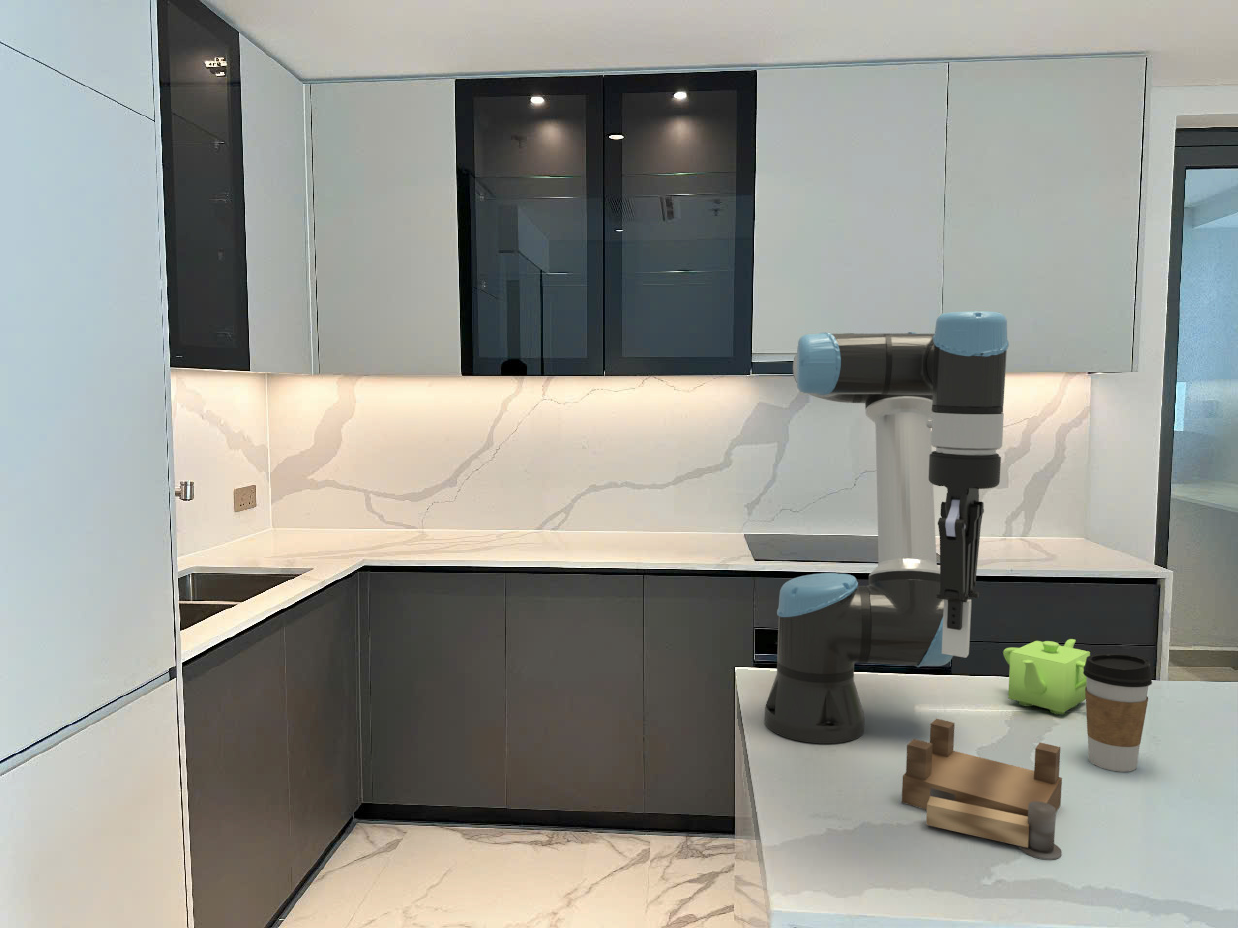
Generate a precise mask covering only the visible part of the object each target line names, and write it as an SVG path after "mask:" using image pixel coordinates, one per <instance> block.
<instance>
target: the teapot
mask: <svg viewBox="0 0 1238 928" xmlns="http://www.w3.org/2000/svg"><path fill="white" fill-rule="evenodd" d="M1076 641H1077V640H1076V639H1073V638H1069V639H1067V640H1066V641H1065V643H1064V645H1061V644H1059V643H1058V642H1055V641H1052V640H1051V641H1050V640H1045V641H1041V640H1035V641H1033V642H1030V643H1027V644H1026V645H1023V646H1021V647H1006V648H1005V649H1004V650H1003V651H1002V653H1003V654H1002V655H1003V657H1004V659H1005V661H1006V663H1007V664H1008V665H1009V673H1008V674H1009V676H1008V677H1009V678H1008V693H1007V695H1008V696H1007V698H1008V699H1009V700H1013V701H1016V702H1018V704H1019V705H1020V706H1024V707H1032V706H1036V707H1039V708H1044V709H1046V710H1049V712H1050V713H1051V712H1052V714H1053V713H1054V715H1058V714H1063V715H1065V712H1067V711H1068V710H1070V709H1072V708H1076V707H1077V705H1078V704H1080V703H1082V702H1084V701H1086V696H1085V688H1086V686H1087V680H1086V676H1085V675H1084V674H1083V671H1084V669H1083V668H1084V666H1085V663H1086V659H1087V657H1088V656H1090V655H1091V652H1090V651H1088V650H1087V651H1086V650H1082V649H1079V648H1074V645H1075V643H1076ZM1055 713H1056V714H1055Z"/></svg>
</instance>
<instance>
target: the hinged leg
mask: <svg viewBox="0 0 1238 928" xmlns="http://www.w3.org/2000/svg"><path fill="white" fill-rule="evenodd" d="M1056 814H1057V812H1056V809H1055V807H1053V806H1052V805H1050V804H1047V803H1044V802H1037V801H1035V802H1030V803H1029V805H1028V817H1027V816H1023V815H1018V814H1013V813H1008V812H1004V811H999V810H994V809H989V808H985V807H980V806H975V805H970V804H966V803H961V802H956V801H951V800H947V799H942V798H937V797H932V796H930V798H929V801H928V803H927V810H926V824H925V826H931V827H933V828H938V829H944V830H947V831H953V832H955V833H956V832H957V833H961V834H965V835H970V836H975V837H978V838H979V837H980V838H982V839H989V840H992V841H997V842H1001V843H1006V844H1010V845H1014V846H1018V847H1019V846H1023V847H1027V848H1028V846H1029V847H1031V848H1033V849H1035V850H1038V851H1043V852H1050V851H1052V850H1053V849H1054V844H1055V834H1056V833H1055V831H1056V817H1057V815H1056Z"/></svg>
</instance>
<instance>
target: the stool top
mask: <svg viewBox="0 0 1238 928" xmlns="http://www.w3.org/2000/svg"><path fill="white" fill-rule="evenodd" d="M929 733H930V734H929V742H927V741H924V740H919V739H916V738H912V739H911V741H910V742H908V743H907V744H906V761H905V763H906V765H905V773H904V774H903V775H902V783H901V784H902V786H901V803H903V804H906V805H909V806H913V807H917V808H919V807H920V809H923V810H926V811H927V803H928V801H929V798H930V796H932V797H937V798H942V799H947V800H951V801H956V802H961V803H966V804H970V805H975V806H980V807H985V808H989V809H994V810H999V811H1004V812H1008V813H1013V814H1018V815H1023V816H1027V817H1028V805H1029V803H1030V802H1035V801H1037V802H1044V803H1047V804H1050V805H1052V806H1053V807H1055V809H1056V813H1057V812H1058V810H1059V808H1060V806H1061V803H1062V786H1063V777H1060V767H1061V766H1060V765H1061V763H1060V762H1061V761H1060V760H1061V746H1058V745H1052V744H1049V743H1044V742H1039V743H1038V744H1037V745H1036V747H1035V749H1034V750H1035V751H1034V767H1033V769H1034V770H1032V769H1028V768H1024V767H1020V766H1016V765H1014V764H1009V763H1004V762H1000V761H996V760H991V759H988V758H985V757H981V756H976V755H971V754H968V753H964V752H960V751H956V750H954V745H955V743H954V741H955V722H952V721H948V720H944V719H941V718H940V719H939V718H935V719H934V720H933V721H932V722H931V723H930V732H929ZM1018 848H1019V850H1021V852H1023V853H1024V854H1026V855H1028V856H1030V857H1032V858H1035V859H1039V860H1047V861H1053V860H1057V859H1060V858H1061V857H1062V855H1063V854H1062V853H1063V852H1062V851H1063V850H1062V849H1061V847H1059V846H1058V845H1057V844H1055V843H1054V849H1053V850H1052V851H1050V852H1043V851H1038V850H1035V849H1033V848H1031V847H1029V846H1028V848H1027V847H1023V846H1018Z"/></svg>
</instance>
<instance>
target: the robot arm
mask: <svg viewBox="0 0 1238 928" xmlns="http://www.w3.org/2000/svg"><path fill="white" fill-rule="evenodd" d="M1009 343H1010V342H1009V340H1008V319H1007V318H1006V316H1005V315H1004V314H1003V313H1000V312H997V311H982V310H981V311H979V310H978V311H951V312H945V313H941V314H940V315H938V317H937V318H936V321H935V328H934V333H916V332H914V331H911V332H909V331H908V332H907V333H906V332H905V333H903V332H902V333H901V332H900V333H897V332H896V333H892V332H891V333H885V332H883V333H881V332H880V333H864V332H863V333H852V332H850V333H849V332H848V333H847V332H845V333H831V332H820V333H810V334H807V333H806V334H803V335H802V336H800V338H799V339H798V340H797V351H796V354H795V355H794V359H793V360H792V361H793V362H792V375H793V378H794V380H795V382H796V387H797V389H798V390H799V392H801V393H803V394H807V395H810V396H812V397H816V398H818V399H821V400H822V399H823V400H826V401H830V402H837V403H847V404H848V403H849V404H864V405H865V406H864V407H865V408H864V409H865V416H866V418H869V420H871V421H872V422H873V423H874V424H875V454H876V455H875V456H876V457H875V458H876V459H875V460H876V464H875V465H876V467H875V468H876V469H875V470H876V502H877V503H876V504H877V507H876V508H877V510H876V511H877V512H876V513H877V541H878V542H877V544H878V545H877V547H878V548H877V550H878V555H877V556H878V564H877V566H876V567H875V568H874V569H873V570H872V571H871V572H870V573H869V575H868V585H859V582H858V581H857V578H856V577H855V576H854V575H851V574H848V573H837V572H824V573H823V572H821V573H812V574H806V575H801V576H797V577H794V578H792V579H789V580H788V581H786V582H785V583H783V585H782V586H781V587H780V590H779V598H778V608H777V610H776V614H777V616H778V630H777V632H778V633H777V657H776V659H777V661H776V674H775V678H774V680H773V684H772V685H771V689H770V691H769V694H768V697H767V700H766V702H765V705H764V720H763V721H764V725H765V726H766V728H768V729H769V730H771V731H772V732H773V733H775V734H776V735H779V736H782V737H784V738H788V739H790V740H795V741H798V742H799V741H800V742H803V743H805V742H806V743H813V744H840V743H846V742H849V741H850V742H851V741H853V740H855V739H857V738H859V737H861V736H862V735H863V734H864V731H865V714H864V709H863V707H862V703H861V700H860V697H859V693H858V689H857V687H856V683H855V677H854V676H855V663H863V664H864V663H865V664H883V665H900V666H901V665H902V666H915V667H916V668H920V667H927V666H928V667H940V666H945V665H946V664H948V663H949V662H950V661H951V660H952V659H953V657H960V658H964V659H965V658H967V657H968V656H969V654H970V639H971V638H970V637H971V618H972V616H971V615H972V599H979V597H980V592H979V591H974V590H973V589H975V588H976V586H977V581H976V580H977V570H978V560H979V549H980V540H981V539H980V538H981V528H982V527H981V526H982V521H983V520H982V519H983V514H984V513H985V509H984V507H985V504H984V501H980V493H979V492H980V490H982V489H983V490H985V489H993V488H996V487H998V486H999V485H1000V481H1001V480H1000V479H1001V464H1002V457H1001V456H1000V454H998V453H997V450H1001V448H1002V447H1003V436H1004V435H1003V434H1004V399H1005V386H1006V385H1005V384H1006V382H1005V381H1006V368H1007V352H1008V351H1007V350H1008V348H1009V346H1010V344H1009ZM932 447H933V448H935V450H933V448H932ZM932 450H933V451H932ZM934 486H937V487H945V488H946V489H947V490H946V497H945V501H941V504H940V517H939V518H938V521H937V525H938V534H939V566H938V564H937V544H936V542H937V540H936V519H935V516H936V515H935V496H934Z"/></svg>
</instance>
